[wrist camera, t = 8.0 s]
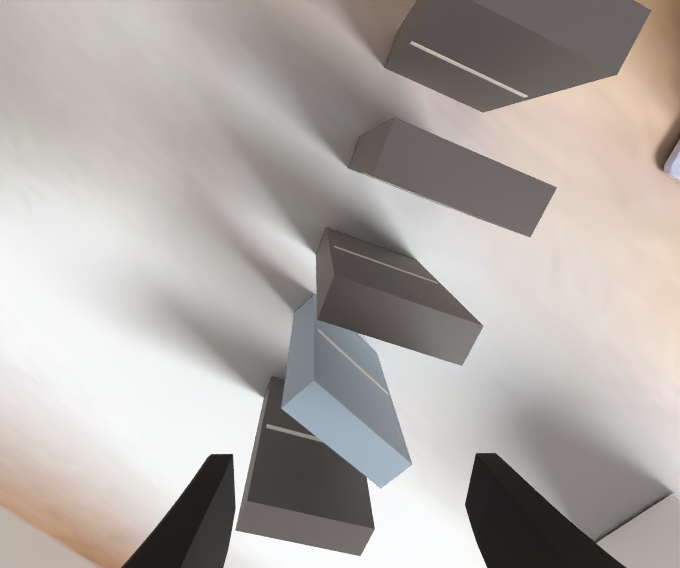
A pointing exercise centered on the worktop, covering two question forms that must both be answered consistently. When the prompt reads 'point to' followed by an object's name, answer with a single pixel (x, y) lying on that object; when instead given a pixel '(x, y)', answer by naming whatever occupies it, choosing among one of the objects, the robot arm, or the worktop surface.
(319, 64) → the worktop surface
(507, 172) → the tile
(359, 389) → the tile
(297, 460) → the tile
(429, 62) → the tile
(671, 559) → the milk carton
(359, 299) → the tile
